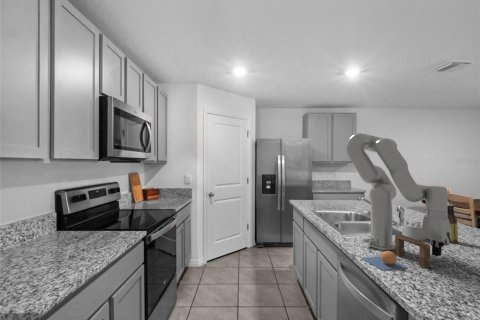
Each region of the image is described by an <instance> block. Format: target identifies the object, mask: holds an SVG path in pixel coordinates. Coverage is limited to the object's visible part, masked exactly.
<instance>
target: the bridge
mask: <svg viewBox="0 0 480 320" xmlns="http://www.w3.org/2000/svg"><path fill="white" fill-rule="evenodd" d="M405 242H407V243H409V244H412V245H415V246H417V247H419V267H421V268H423V269H429V268H431V245H430V243H426V242H423V241H422V240H420V241H419V240H415V239H412V238H409V237H407V236H404V234H394V244H395V250H394V254H395V256H396V257H397V256H398V257H403V256H405Z"/></svg>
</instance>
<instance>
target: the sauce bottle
mask: <svg viewBox="0 0 480 320" xmlns="http://www.w3.org/2000/svg"><path fill="white" fill-rule="evenodd" d="M447 207H448V219H449V222H450V227H451V241H450V244H451V243H452V244H457V243H458V242H459V241H458V240H459V231H458V218H457V216H456V215H455V212H454V211H455V210H454V208H455V205H454V204H449V203H448V204H447Z"/></svg>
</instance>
